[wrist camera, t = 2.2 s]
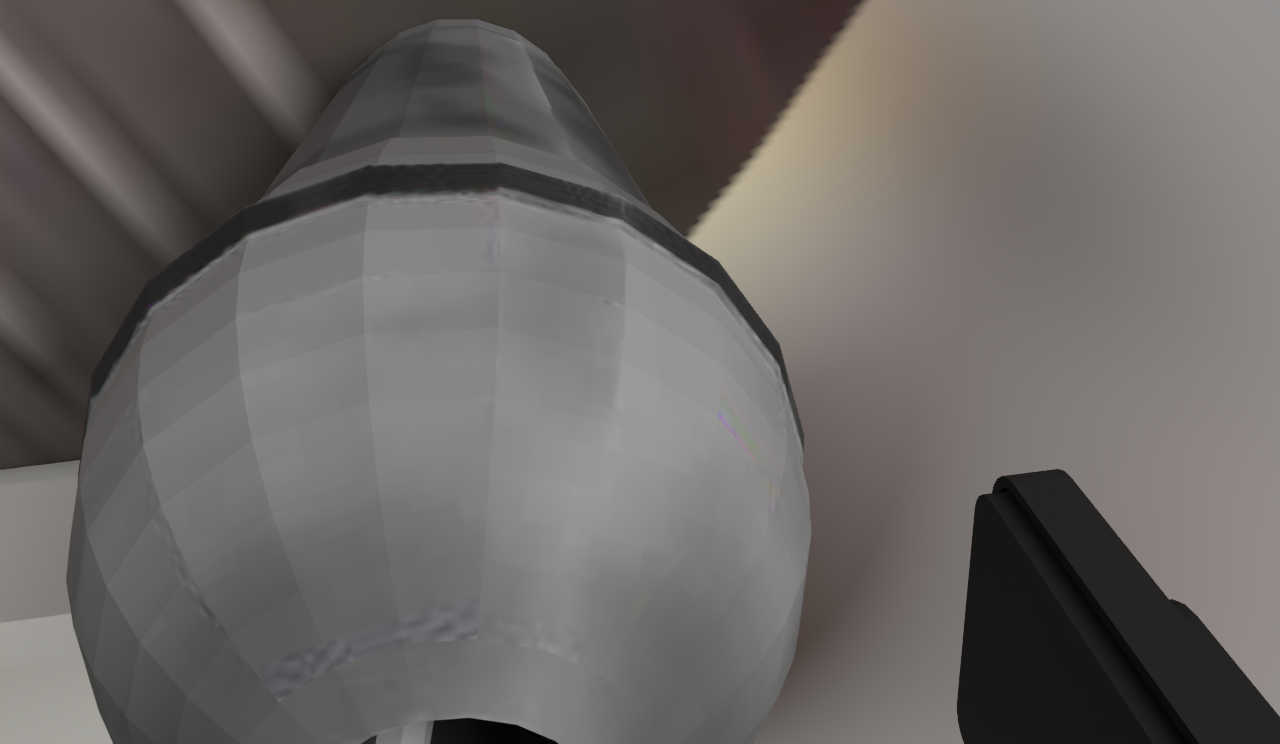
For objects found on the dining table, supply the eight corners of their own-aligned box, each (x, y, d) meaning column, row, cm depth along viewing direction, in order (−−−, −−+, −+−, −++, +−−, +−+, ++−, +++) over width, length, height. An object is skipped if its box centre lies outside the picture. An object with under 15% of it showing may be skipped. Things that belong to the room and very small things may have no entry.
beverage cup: (714, 211, 23) (1439, 1695, 6) (399, 368, 24) (217, 2066, 7) (543, -143, 19) (1126, 1040, 2) (178, 58, 20) (-1493, 2047, 3)
